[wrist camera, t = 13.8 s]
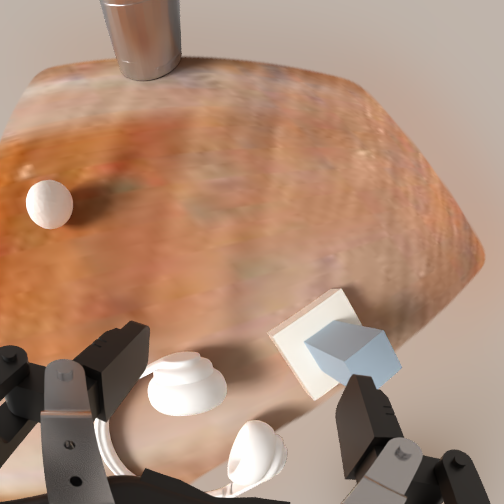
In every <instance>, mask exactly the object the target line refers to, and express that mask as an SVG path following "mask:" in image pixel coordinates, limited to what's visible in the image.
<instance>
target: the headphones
mask: <svg viewBox="0 0 504 504" xmlns="http://www.w3.org/2000/svg"><path fill="white" fill-rule="evenodd" d="M152 372H153V375H154V377H153V378H152V379H151V381H150V382H149V386H148V397H149V400H150V402H151V404H152V406H153V407H154V408H155V409H157V410H158V411H159V412H161V413H163V414H167V415H172V416H188V415H195V414H199V413H203V412H206V411H209V410H211V409H213V408H215V407H217V406H218V405H220V404H221V403H222V402H223V400H224V398H225V396H226V394H227V384H226V381H225V379H224V377H223V375H222V374H221V373H220V372H219V371H218V370H217V369H215V368H213V365H212V363H211V361H210V360H209V359H207V358H203V357H200V354H199V353H197V352H191V351H188V352H178V353H173V354H170V355H167V356H164V357H162V358H160V359H158V360H156V361H154V362H153V363H151V364H149V365H147V366H146V369H145V371H144V373H143V374H142V376H141V377H140V378H142V377H144V376H146V375H148V374H150V373H152ZM140 378H139V379H140ZM95 434H96V438H97V443H98V447H99V451H100V453H101V455H102V457H103V459H104V461H105V463H106V464H107V466H108V467H109V468H110V470H111V471H112V472H113V473H114V474H115V475H134V476H136V475H135V474H133V473H132V472H131V471H129V470H128V469H127V468H126V467H125V465H124V464H123V463H122V462H121V460H120V459H119V457H118V456H117V454H116V452H115V450H114V447H113V445H112V442H111V438H110V433H109V420H108V421H107V423H106V422H104V421H102V420H100V419H97V418H96V419H95ZM286 459H287V447H286V446H285V445H284V443H283V439H282V437H281V436H279V435H278V434H275V432H274V430H273V428H272V427H271V426H270V425H268V424H267V423H265V422H262V421H259V420H251V421H248V422H246V423H245V424H244V426H243V427H242V428H241V430H240V431H239V433H238V435H237V437H236V439H235V441H234V444H233V447H232V450H231V453H230V456H229V461H228V477H229V478H230V479H231V480H232V481H233V482H232V483H230V484H228V485H226V486H225V487H222V488H219V489H216V490H212V491H208V492H205V493H207V494H209V495H212V496H214V497H227V498H235V497H237V496H238V495H240V494H241V493H243V492H245V491H247V490H249V489H251V488H253V487H255V486H257V485H259V484H261V483H263V482H264V481H268V480H270V479H271V478H272V477H274V476H276V475H278V474H279V473H280V472H281V471H282V469H283V468H284V466H285V463H286Z"/></svg>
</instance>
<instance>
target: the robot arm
mask: <svg viewBox="0 0 504 504" xmlns="http://www.w3.org/2000/svg"><path fill="white" fill-rule="evenodd" d="M100 3H101V7H102V10H103V14H104V19H105V22H106V25H107V29H108V32H109V36H110V39H111V42H112V46H113V49H114V52H115V55H116V58H117V61H118V64H119V67H120V70H121V72H122V73H123V75H125V76H126V77H128V78H130V79H133V80H140V81H145V80H152V79H156V78H159V77H161V76H163V75H166V74H167V73H169V72H170V71H172V70H173V69H174V68H175V67H176V66H177V65H178V63H179V61H180V59H181V54H182V53H181V31H180V5H179V4H180V3H179V0H100ZM149 337H150V328H149V326H147V325H144V324H141V323H138V322H135V321H129V322H128V323H127V324H126V325H125V326H124V327H123V328H122V329H118V328H115V329H112V330H109V331H106V332H105V333H104V334H102V335H101V336H100V337H99V338H98V339H97V340H95V341H94V342H93V344H91V345H90V346H88V347H87V348H86V349H85V350H84V351H83V352H81V353H80V354H79V355H78V356H77V357H76V358H74V359H73V360H68V359H60V360H55V361H53V362H51V363H49V364H48V365H47V367H45V366H41V365H37V364H33V363H29V362H28V357H27V353H26V352H25V351H24V350H23V349H22V348H20V347H17V346H12V345H9V346H3V347H0V401H1V400H2V399H3V398H4V397H5V400H6V401H5V402H4V403H3V404H2V405H1V406H0V468H1V467H2V465H3V464H4V463H5V462H6V460H7V459H8V458H9V457H10V455H11V454H12V453H13V452H14V450H15V449H16V448H17V447H18V446H19V444H20V443H21V442H22V441H23V439H24V438H25V437H26V436H27V435H28V433H29V432H30V431H31V430H32V429H33V427H34V426H35V425H36V424H37V423H38V422H39V423H41V441H42V454H43V465H44V473H45V481H46V488H47V494H42V495H38V496H33V497H28V498H22V499H17V500H11V501H4V502H0V504H290V502H285V501H277V500H269V499H262V498H256V497H247V498H227V497H214V496H212V495H209V494H207V493H205V492H203V491H200V490H199V489H197V488H195V487H193V486H191V485H189V484H187V483H185V482H183V481H181V480H179V479H176V478H172V477H169V476H166V475H163V474H160V473H157V472H155V471H152V470H149V469H146V468H145V470H144V472H143V474H142V476H134V475H115V476H109V477H106V473H105V470H104V466H103V462H102V459H101V455H100V451H99V447H98V443H97V438H96V434H95V429H94V424H93V422H94V421H95V419H96V418H97V419H100V420H102V421H104V422H106V423H107V421H108V420H109V419H110V417H111V416H112V415H113V413H114V412H115V410H116V409H117V408H118V406H119V405H120V404H121V402H122V401H123V400H124V398H125V397H126V396H127V394H128V393H129V392H130V390H131V389H132V388H133V386H134V385H135V384H136V382H137V381H138V380H139V378H140V377H141V376H142V374H143V373H144V371H145V369H146V366H147V363H148V353H149ZM336 424H337V430H338V436H339V442H340V448H341V456H342V462H343V469H344V476H345V479H352V480H356V482H357V484H356V486H355V487H354V488H353V489H352V491H351V492H350V493H349V494H348V495H347V497H346V498H345V499H344V500H343V501H342V502H341V504H442V503H443V502H444V504H490V501H489V499H488V496H487V494H486V491H485V489H484V487H483V484H482V482H481V479H480V477H479V475H478V472H477V470H476V468H475V466H474V464H473V462H472V460H471V458H470V457H469V456H468V455H467V454H466V453H464V452H462V451H459V450H449V451H447V452H446V453H445V454H444V455H443V456H442V457H441V459H437V458H433V457H428V456H424V455H423V454H422V450H421V449H420V447H419V446H418V445H417V444H416V443H415V442H413V441H411V440H409V439H406V438H404V436H403V433H402V431H401V428H400V426H399V423H398V421H397V418H396V416H395V415H394V411H393V409H392V406H391V403H390V401H389V399H388V397H387V396H386V395H385V394H384V393H383V392H382V391H381V390H378V389H376V386H375V384H374V381H373V379H372V377H371V376H364V375H357V374H353V375H352V376H351V377H350V379H349V381H348V383H347V385H346V388H345V390H344V392H343V394H342V396H341V399H340V401H339V403H338V405H337V408H336Z"/></svg>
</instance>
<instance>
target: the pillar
mask: <svg viewBox="0 0 504 504" xmlns="http://www.w3.org/2000/svg"><path fill="white" fill-rule="evenodd" d="M304 343H305V345H306V346H307V348H308V350H309V351H310V353H311V355H312V356H313V358H314V359H315V361H316V363H317V364H318V366H319V367H320V369H321V371H323V372H324V373H326V374H327V375H329V376H330V377H332V378H333V379H335V380H337V381H338V382H340V383H341V384H343V385H344V386H346V385H347V383H348V381H349V379H350V377H351V376H352V375H353V374H357V375H364V376H371V377H372V379H373V381H374V384H375V386H376V389H378V388H380V387H381V386H382V385H383V384H384V383H385V382H387V381H388V380H389V379H390V378H391V377H392V376H393V375H395V374H396V373H397V372H398V371H399V370H400V369H401V368H402V366H401V364H400V362H399V360H398V358H397V356H396V354H395V352H394V350H393V348H392V346H391V344H390V342H389V340H388V338H387V336H386V334H385V332H384V330H380V329H375V328H370V327H365V326H360V325H355V324H350V323H345V322H340V321H335V320H333V321H332V322H331V323H329V324H328V325H327V326H325V327H324V328H322V329H321V330H320V331H318V332H317V333H315V334H314V335H313V336H311V337H310V338H308V339H307V340H305V341H304Z"/></svg>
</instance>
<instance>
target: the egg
mask: <svg viewBox="0 0 504 504" xmlns="http://www.w3.org/2000/svg"><path fill="white" fill-rule="evenodd" d="M26 205H27V210H28V213H29V215H30V217H31V219H32V220H33V221H34V222H35V223H36V224H38V225H39V226H41V227H43V228H46V229H56V228H58V227H61V226H62V225H64V224H65V223H66V222H67V221H68V220H69V218H70V216H71V214H72V210H73V200H72V196H71V194H70V192H69V191H68V189H67V188H66V187H65V186H64V185H62V184H61V183H59V182H57V181H54V180H45V181H40V182H38V183H36V184H35V185H33V186H32V187H31V189H30V190H29V192H28V194H27V198H26Z"/></svg>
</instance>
